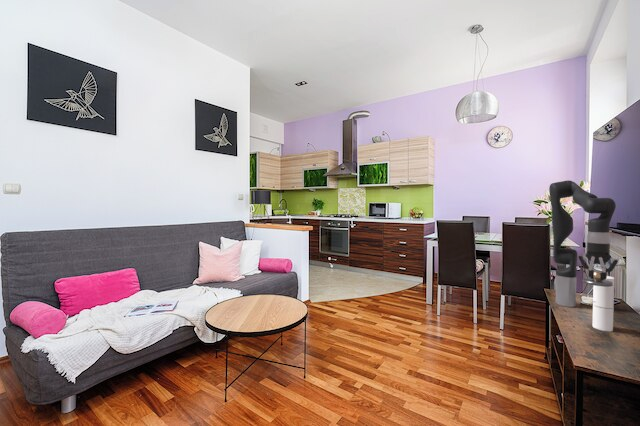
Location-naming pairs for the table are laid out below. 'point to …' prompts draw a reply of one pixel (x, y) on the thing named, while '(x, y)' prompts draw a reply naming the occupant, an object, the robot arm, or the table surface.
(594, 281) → the lid
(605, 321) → the cylindrical container
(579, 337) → the table surface
